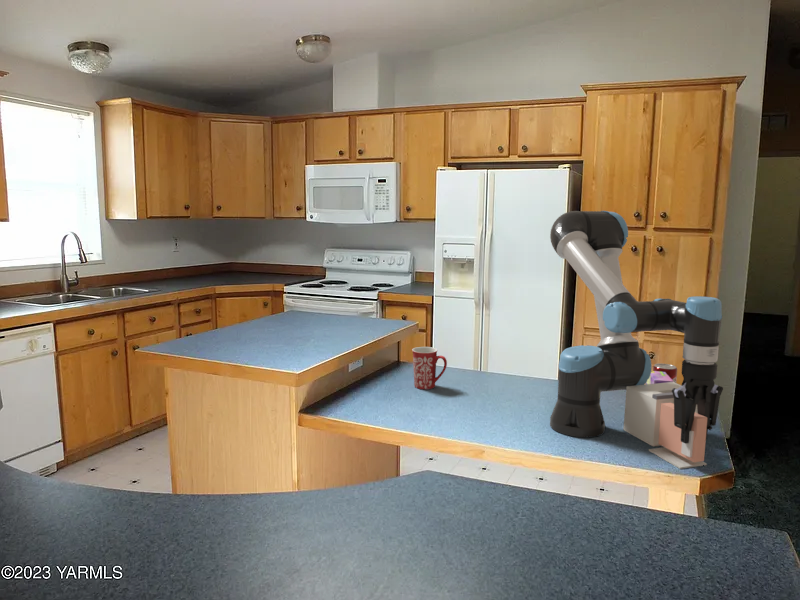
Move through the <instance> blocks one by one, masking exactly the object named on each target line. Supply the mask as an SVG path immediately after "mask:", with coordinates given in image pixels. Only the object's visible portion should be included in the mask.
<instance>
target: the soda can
mask: <svg viewBox="0 0 800 600" xmlns="http://www.w3.org/2000/svg"><path fill="white" fill-rule="evenodd" d="M652 371H661V372H666V374H667V375H668V376H669V377H670V378H671V379H672V380H673V381H674V382H675V383H677V378H678V368H677V366H675V365H674V364H673V365H672V364H668V363H659V362H658V363H655V364H654V365H653V366H652Z"/></svg>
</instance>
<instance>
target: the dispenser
mask: <svg viewBox="0 0 800 600" xmlns="http://www.w3.org/2000/svg"><path fill="white" fill-rule="evenodd" d="M681 386H682V384H679V383H677V382H676V383H675V382H667V383H656V384H646V383H645V384H644V385H635V386H627V387H626V390H625V403H624V414H623V415H624V418H623V431H625V432H626V433H628V434H630V435H632V436H633V437H635V438H637V439H639V440H640V441H642V442H644V443H646V444H648V445H649V446H651V447H659V446H661V445H659V444H658V442H659V427H660V412H661V403H673V404H674V396H673V393H672V389H673V388H676V389H678V388H679V387H681ZM690 399H691V398H690ZM695 413H697V414H698V411H697V405H696V409H695Z"/></svg>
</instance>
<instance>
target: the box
mask: <svg viewBox="0 0 800 600" xmlns="http://www.w3.org/2000/svg"><path fill="white" fill-rule="evenodd" d="M667 382H674V381H673V380H672V379H671V378H670V377H669V376H668V375H667V374H666V372H661V371H653V370H651V374H650V377H649V379H648V380H647V382H646V383H645V384H656V383H667Z"/></svg>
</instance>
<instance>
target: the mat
mask: <svg viewBox="0 0 800 600" xmlns="http://www.w3.org/2000/svg"><path fill="white" fill-rule="evenodd" d="M648 452H650V453H652V454H654V455H655V456H656V457H659V458H661V459H662V460H663V461H665V462H667V463H669V464H670V465H673V466H674V467H675V468H677V469H679V470H682V469H689V468H697V467H703V465H704V466H707V463H706V462H704V461H700V462H692V461H690V460H688V459H686V458H685V457H683V456H681V455H679V454H677V453H675V452H673V451H671V450H669V449H667V448H665V447H663V446H661V447H656V448H648Z"/></svg>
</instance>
